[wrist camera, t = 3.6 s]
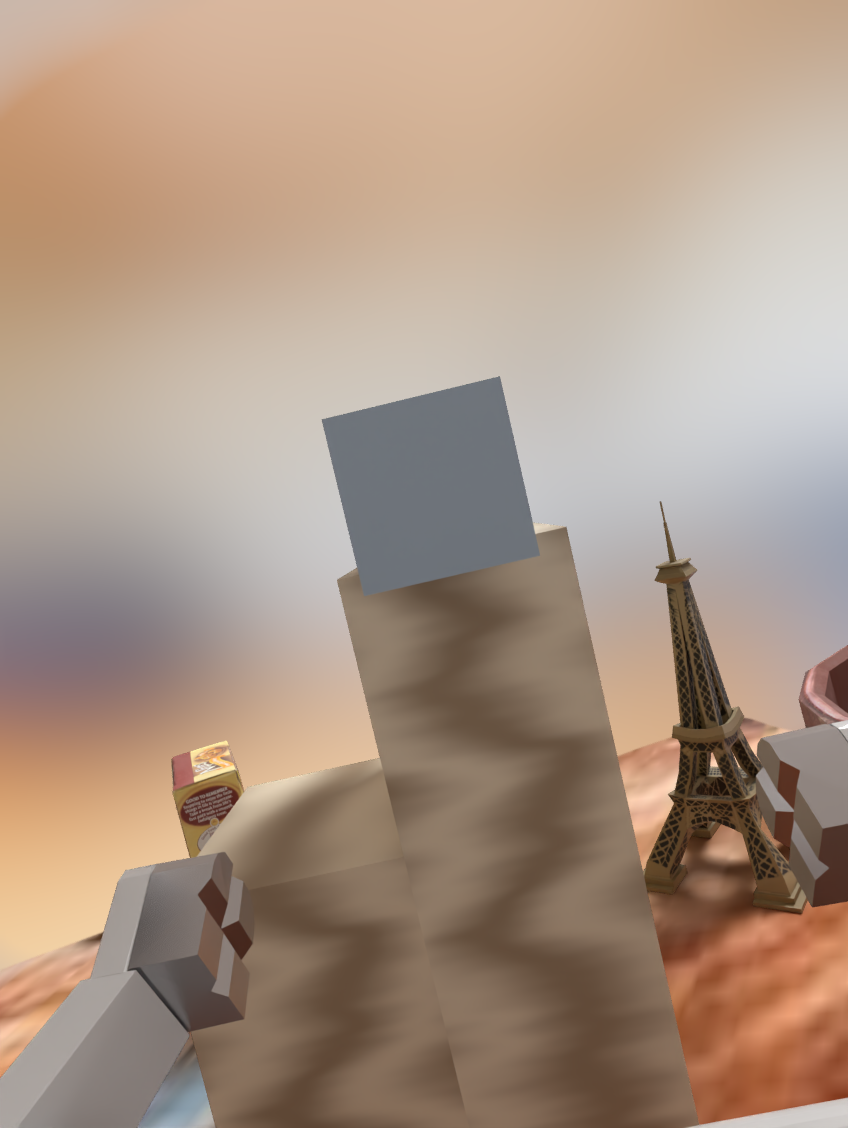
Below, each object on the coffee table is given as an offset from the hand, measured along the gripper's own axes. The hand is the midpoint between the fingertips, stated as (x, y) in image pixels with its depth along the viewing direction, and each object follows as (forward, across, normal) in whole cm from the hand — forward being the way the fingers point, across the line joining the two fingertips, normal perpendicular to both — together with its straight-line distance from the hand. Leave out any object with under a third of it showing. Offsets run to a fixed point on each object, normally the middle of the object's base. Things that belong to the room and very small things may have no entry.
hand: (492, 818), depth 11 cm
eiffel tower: (+22, -14, +40) cm, 48 cm away
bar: (+18, 0, +6) cm, 19 cm away
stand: (+6, +4, +30) cm, 31 cm away
